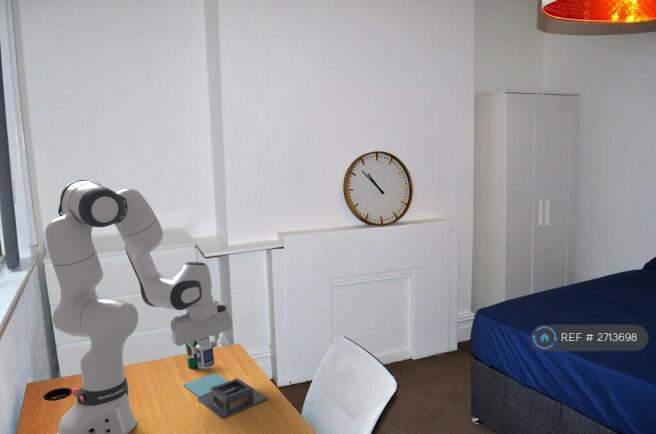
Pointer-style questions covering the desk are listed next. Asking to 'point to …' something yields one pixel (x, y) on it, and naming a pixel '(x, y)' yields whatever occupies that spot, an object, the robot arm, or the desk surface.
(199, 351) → the pill bottle
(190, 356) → the soda can
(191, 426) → the desk surface
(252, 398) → the square frame
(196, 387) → the mat
